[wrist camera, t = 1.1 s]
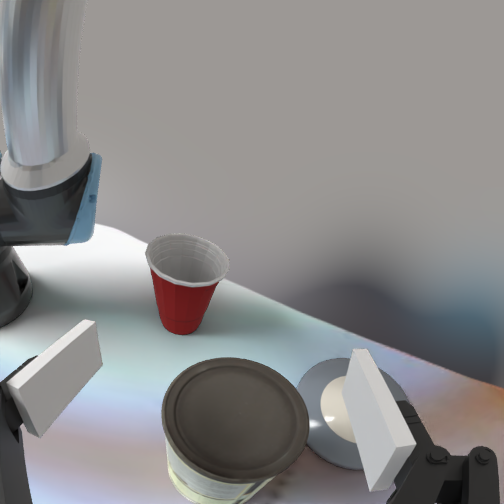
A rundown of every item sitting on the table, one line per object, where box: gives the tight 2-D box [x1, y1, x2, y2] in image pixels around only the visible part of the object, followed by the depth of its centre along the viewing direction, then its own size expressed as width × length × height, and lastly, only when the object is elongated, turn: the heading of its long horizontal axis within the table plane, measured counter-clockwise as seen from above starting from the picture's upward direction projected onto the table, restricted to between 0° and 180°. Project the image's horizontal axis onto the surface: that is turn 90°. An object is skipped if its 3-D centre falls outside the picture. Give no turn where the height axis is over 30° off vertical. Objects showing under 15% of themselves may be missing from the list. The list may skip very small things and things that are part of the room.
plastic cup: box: [145, 234, 230, 335], centre depth 40 cm, size 11×11×12 cm
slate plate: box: [296, 358, 410, 470], centre depth 34 cm, size 18×18×1 cm
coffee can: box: [161, 358, 310, 504], centre depth 22 cm, size 10×10×14 cm
